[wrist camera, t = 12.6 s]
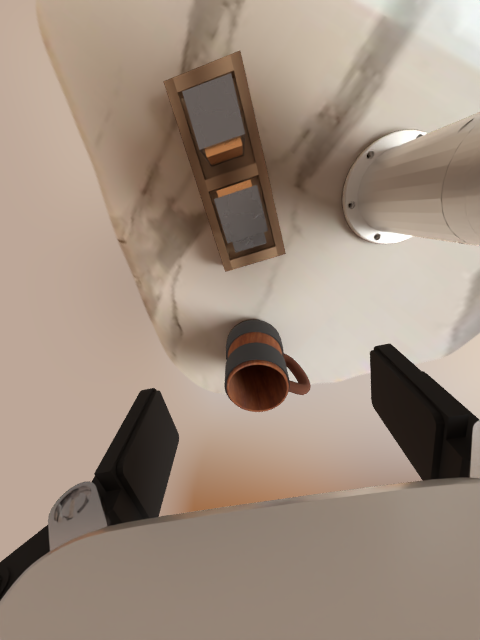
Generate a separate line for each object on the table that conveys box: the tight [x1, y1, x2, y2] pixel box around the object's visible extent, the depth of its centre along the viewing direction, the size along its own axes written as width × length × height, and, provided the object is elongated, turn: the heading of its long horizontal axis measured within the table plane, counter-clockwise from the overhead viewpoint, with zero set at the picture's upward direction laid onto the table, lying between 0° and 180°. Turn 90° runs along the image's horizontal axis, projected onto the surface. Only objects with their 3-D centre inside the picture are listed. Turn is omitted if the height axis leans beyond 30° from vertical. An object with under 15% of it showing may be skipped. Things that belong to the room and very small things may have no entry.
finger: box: [182, 73, 245, 167], centre depth 24 cm, size 4×7×9 cm, turn 16°
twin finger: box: [214, 179, 268, 253], centre depth 28 cm, size 4×7×9 cm, turn 17°
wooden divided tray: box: [164, 51, 286, 272], centre depth 30 cm, size 8×20×4 cm, turn 17°
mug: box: [225, 320, 310, 412], centre depth 36 cm, size 9×12×12 cm
